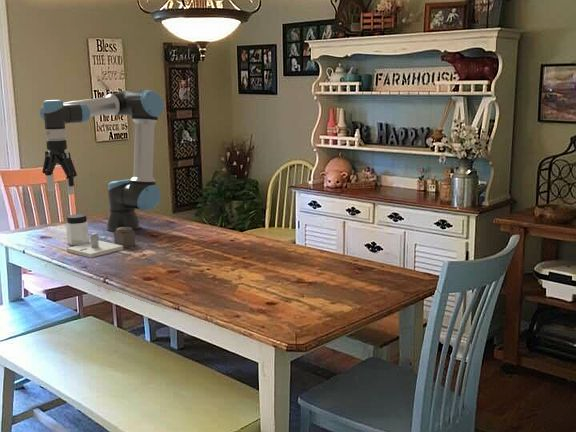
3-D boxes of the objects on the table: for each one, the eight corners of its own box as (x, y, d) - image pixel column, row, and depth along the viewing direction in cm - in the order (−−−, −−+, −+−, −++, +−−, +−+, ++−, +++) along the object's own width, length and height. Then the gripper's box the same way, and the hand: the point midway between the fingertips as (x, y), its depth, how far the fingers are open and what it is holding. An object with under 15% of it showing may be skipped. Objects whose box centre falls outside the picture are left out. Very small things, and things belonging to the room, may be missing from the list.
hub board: (99, 243, 280) (98, 228, 279) (123, 249, 271) (122, 232, 269) (66, 251, 268) (65, 235, 266) (90, 257, 258) (89, 240, 257)
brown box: (126, 242, 282) (125, 224, 281) (136, 244, 278) (135, 226, 277) (113, 245, 277) (112, 227, 276) (123, 247, 273) (122, 229, 272)
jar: (91, 243, 282) (89, 216, 279) (73, 246, 277) (71, 218, 274) (83, 239, 289) (81, 213, 286) (65, 242, 284) (63, 215, 281)
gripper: (30, 139, 263) (35, 191, 267) (66, 142, 247) (71, 197, 252) (47, 137, 268) (51, 188, 273) (83, 140, 253) (87, 194, 258)
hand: (61, 192), depth 262 cm, fingers open, 13 cm apart
